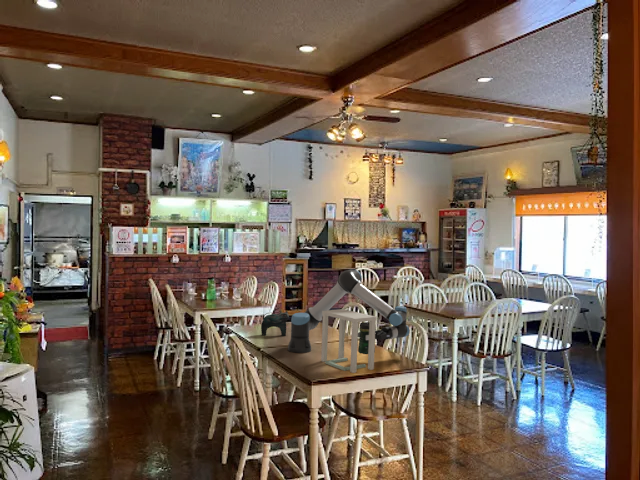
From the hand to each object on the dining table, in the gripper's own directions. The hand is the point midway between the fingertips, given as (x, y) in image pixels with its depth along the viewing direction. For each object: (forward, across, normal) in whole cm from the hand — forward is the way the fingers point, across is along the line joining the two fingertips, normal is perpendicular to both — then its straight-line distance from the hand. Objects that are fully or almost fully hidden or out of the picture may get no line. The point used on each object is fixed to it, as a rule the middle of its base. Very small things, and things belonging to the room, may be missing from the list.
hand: (361, 336), depth 304 cm
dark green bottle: (-5, 0, -11) cm, 12 cm away
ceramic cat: (+4, +91, -16) cm, 92 cm away
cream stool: (+10, 0, -16) cm, 19 cm away
